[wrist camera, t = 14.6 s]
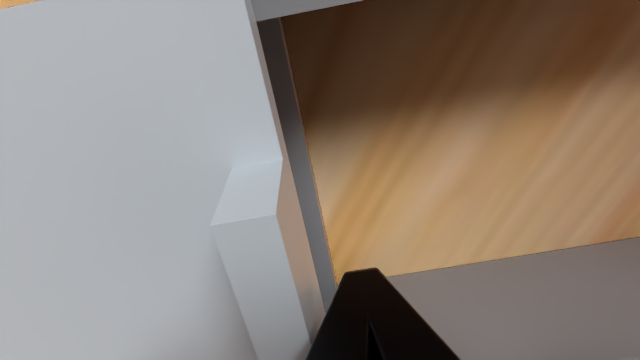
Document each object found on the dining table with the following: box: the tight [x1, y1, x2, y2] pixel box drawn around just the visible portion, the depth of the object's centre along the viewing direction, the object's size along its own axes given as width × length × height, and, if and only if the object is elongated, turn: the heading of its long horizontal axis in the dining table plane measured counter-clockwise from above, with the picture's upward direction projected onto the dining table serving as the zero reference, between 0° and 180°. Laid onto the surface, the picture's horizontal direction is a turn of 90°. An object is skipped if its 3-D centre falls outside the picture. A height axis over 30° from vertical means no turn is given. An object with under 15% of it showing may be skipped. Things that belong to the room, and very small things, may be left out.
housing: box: [251, 0, 640, 360], centre depth 12 cm, size 13×24×5 cm, turn 100°
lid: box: [0, 0, 326, 360], centre depth 9 cm, size 13×11×3 cm
